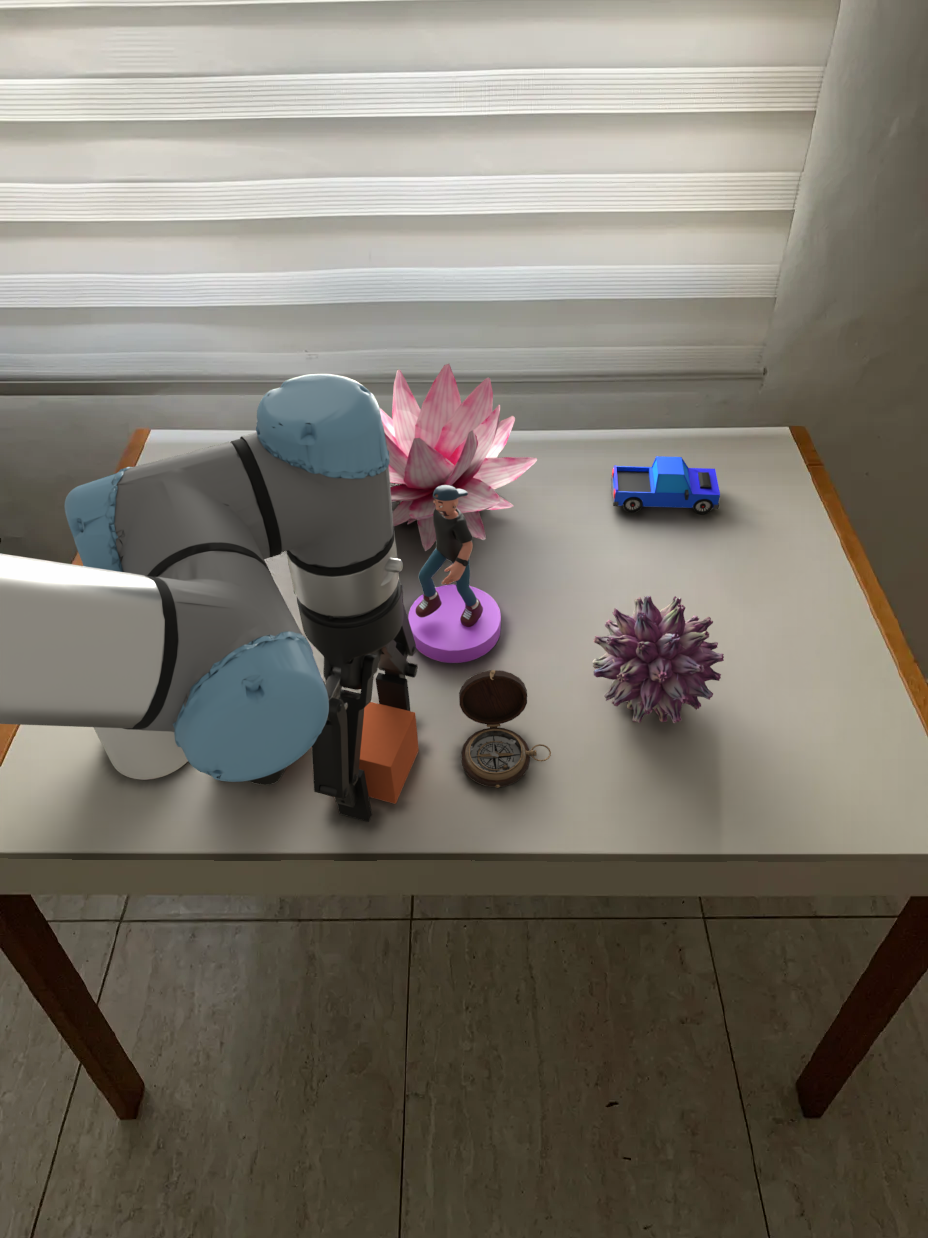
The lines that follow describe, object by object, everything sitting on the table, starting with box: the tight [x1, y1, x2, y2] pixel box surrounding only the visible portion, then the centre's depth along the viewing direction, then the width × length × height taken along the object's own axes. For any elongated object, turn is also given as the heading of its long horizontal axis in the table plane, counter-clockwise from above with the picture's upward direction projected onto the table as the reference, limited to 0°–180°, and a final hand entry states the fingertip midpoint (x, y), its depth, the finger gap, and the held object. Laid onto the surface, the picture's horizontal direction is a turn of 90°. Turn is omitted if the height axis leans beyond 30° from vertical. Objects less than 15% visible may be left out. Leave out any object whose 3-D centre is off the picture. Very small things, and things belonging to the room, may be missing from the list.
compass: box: [458, 669, 552, 789], centre depth 80 cm, size 8×8×7 cm
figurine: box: [407, 485, 502, 664], centre depth 87 cm, size 9×9×18 cm
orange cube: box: [359, 701, 420, 805], centre depth 79 cm, size 6×6×6 cm
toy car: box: [610, 455, 721, 515], centre depth 105 cm, size 7×12×5 cm, turn 86°
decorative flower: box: [379, 363, 538, 552], centre depth 101 cm, size 21×21×15 cm
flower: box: [592, 595, 725, 724], centre depth 82 cm, size 12×12×12 cm
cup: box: [92, 727, 189, 781], centre depth 78 cm, size 8×8×16 cm
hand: (377, 767), depth 81 cm, fingers open, 9 cm apart
